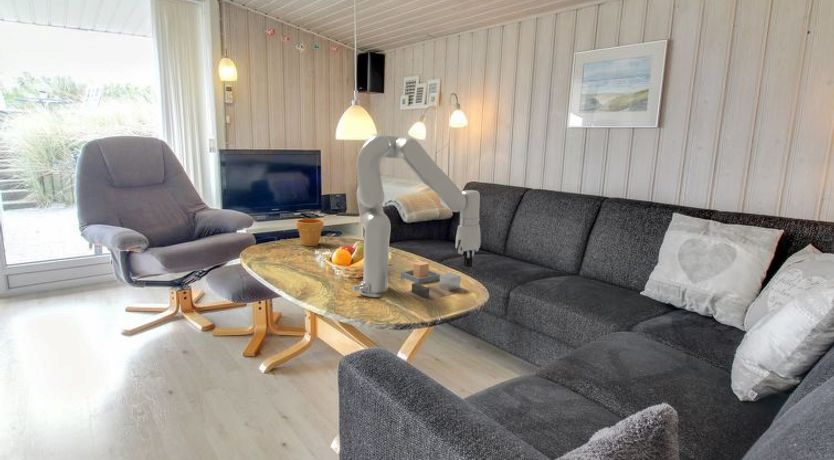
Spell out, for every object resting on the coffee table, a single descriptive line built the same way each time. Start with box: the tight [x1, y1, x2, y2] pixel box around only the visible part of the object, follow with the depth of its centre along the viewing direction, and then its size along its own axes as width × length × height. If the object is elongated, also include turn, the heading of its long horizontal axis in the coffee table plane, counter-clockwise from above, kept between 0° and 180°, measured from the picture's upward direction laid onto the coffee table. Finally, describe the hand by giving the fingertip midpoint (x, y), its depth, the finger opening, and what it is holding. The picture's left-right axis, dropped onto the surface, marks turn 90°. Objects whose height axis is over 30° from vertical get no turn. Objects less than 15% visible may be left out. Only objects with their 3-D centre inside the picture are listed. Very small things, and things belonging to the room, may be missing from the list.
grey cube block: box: [438, 272, 462, 291], centre depth 190 cm, size 6×6×5 cm
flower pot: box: [295, 218, 324, 247], centre depth 261 cm, size 14×14×13 cm
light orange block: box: [412, 261, 430, 278], centre depth 203 cm, size 5×4×7 cm
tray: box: [400, 269, 441, 285], centre depth 203 cm, size 12×12×4 cm
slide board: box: [402, 282, 468, 302], centre depth 186 cm, size 23×12×5 cm, turn 129°
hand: (467, 266), depth 195 cm, fingers closed
